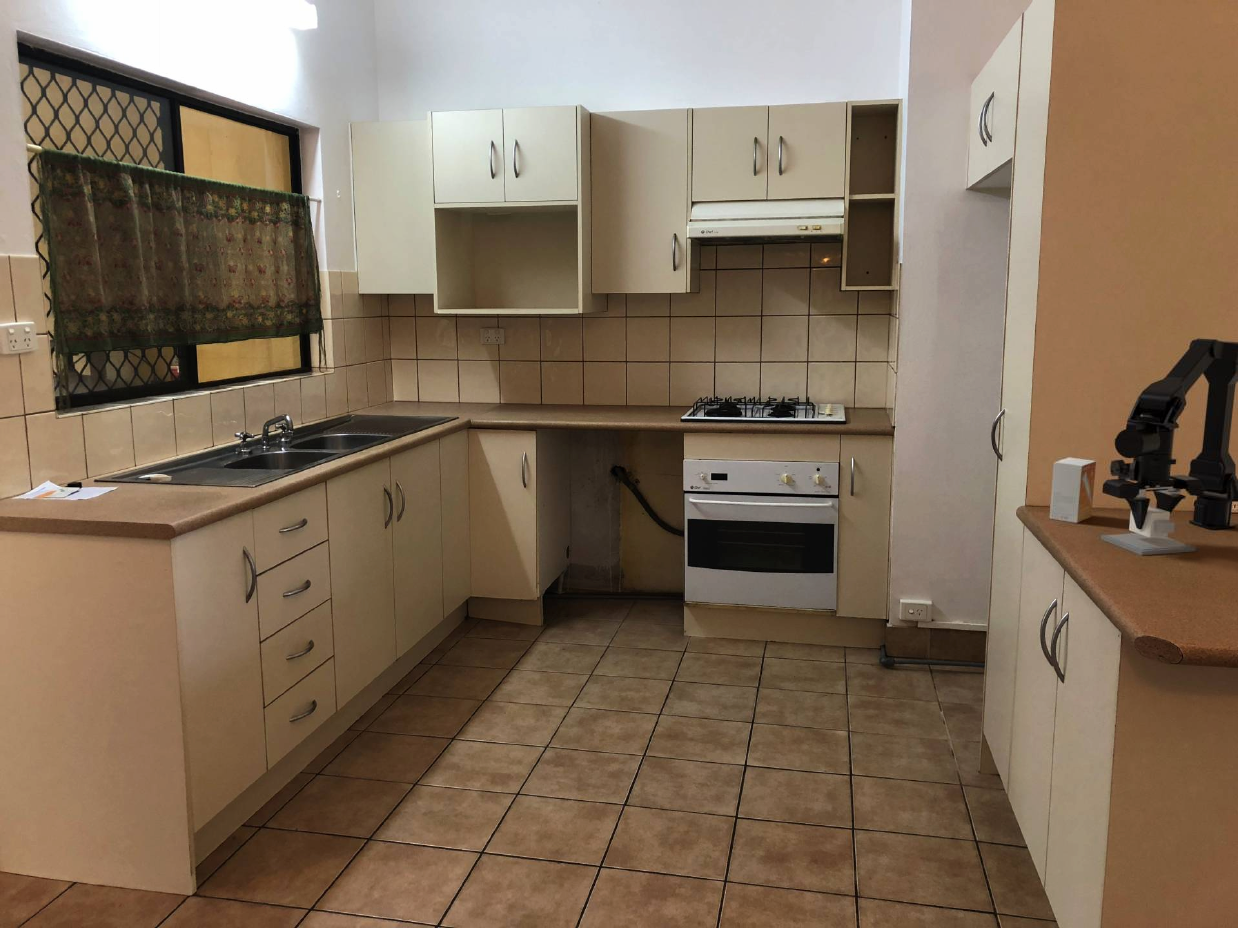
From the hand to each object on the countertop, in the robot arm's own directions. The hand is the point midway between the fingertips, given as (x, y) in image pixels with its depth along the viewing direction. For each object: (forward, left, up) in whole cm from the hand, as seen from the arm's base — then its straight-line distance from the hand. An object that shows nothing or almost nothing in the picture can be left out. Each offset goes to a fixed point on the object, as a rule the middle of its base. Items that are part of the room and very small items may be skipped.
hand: (1148, 528), depth 200 cm
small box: (+1, -23, -4) cm, 23 cm away
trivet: (0, 0, -4) cm, 4 cm away
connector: (0, +1, -1) cm, 2 cm away
